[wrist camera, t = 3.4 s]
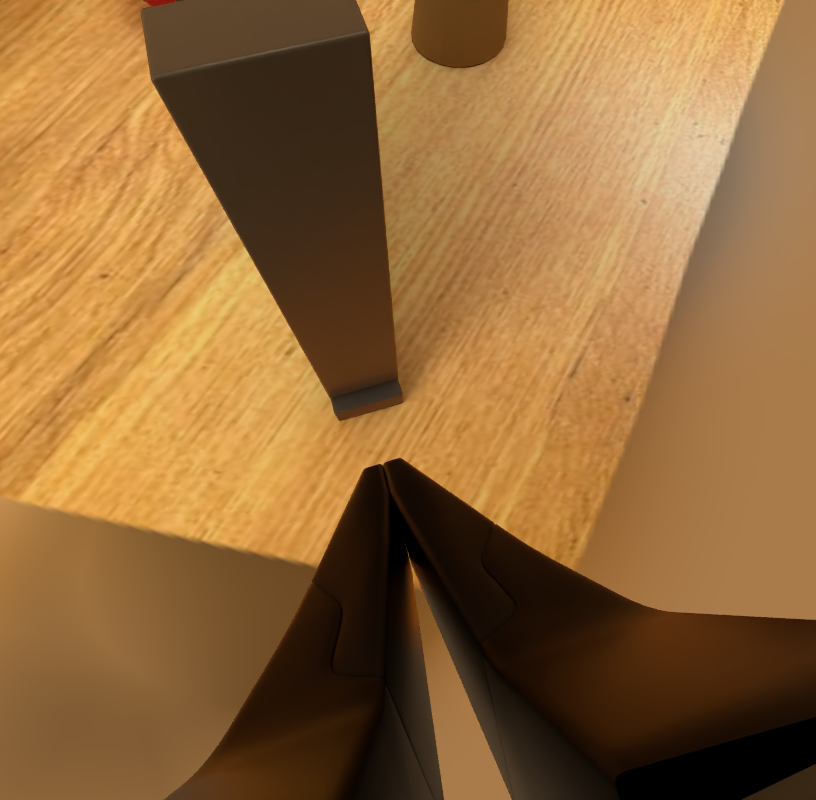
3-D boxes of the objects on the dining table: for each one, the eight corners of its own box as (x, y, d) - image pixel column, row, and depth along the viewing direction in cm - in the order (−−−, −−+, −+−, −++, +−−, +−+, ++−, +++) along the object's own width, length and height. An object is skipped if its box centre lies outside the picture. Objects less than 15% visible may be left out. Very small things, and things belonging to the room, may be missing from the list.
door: (398, 379, 18) (369, 31, 6) (330, 398, 18) (148, 78, 6) (344, 208, 21) (249, -265, 9) (284, 222, 21) (100, -243, 8)
